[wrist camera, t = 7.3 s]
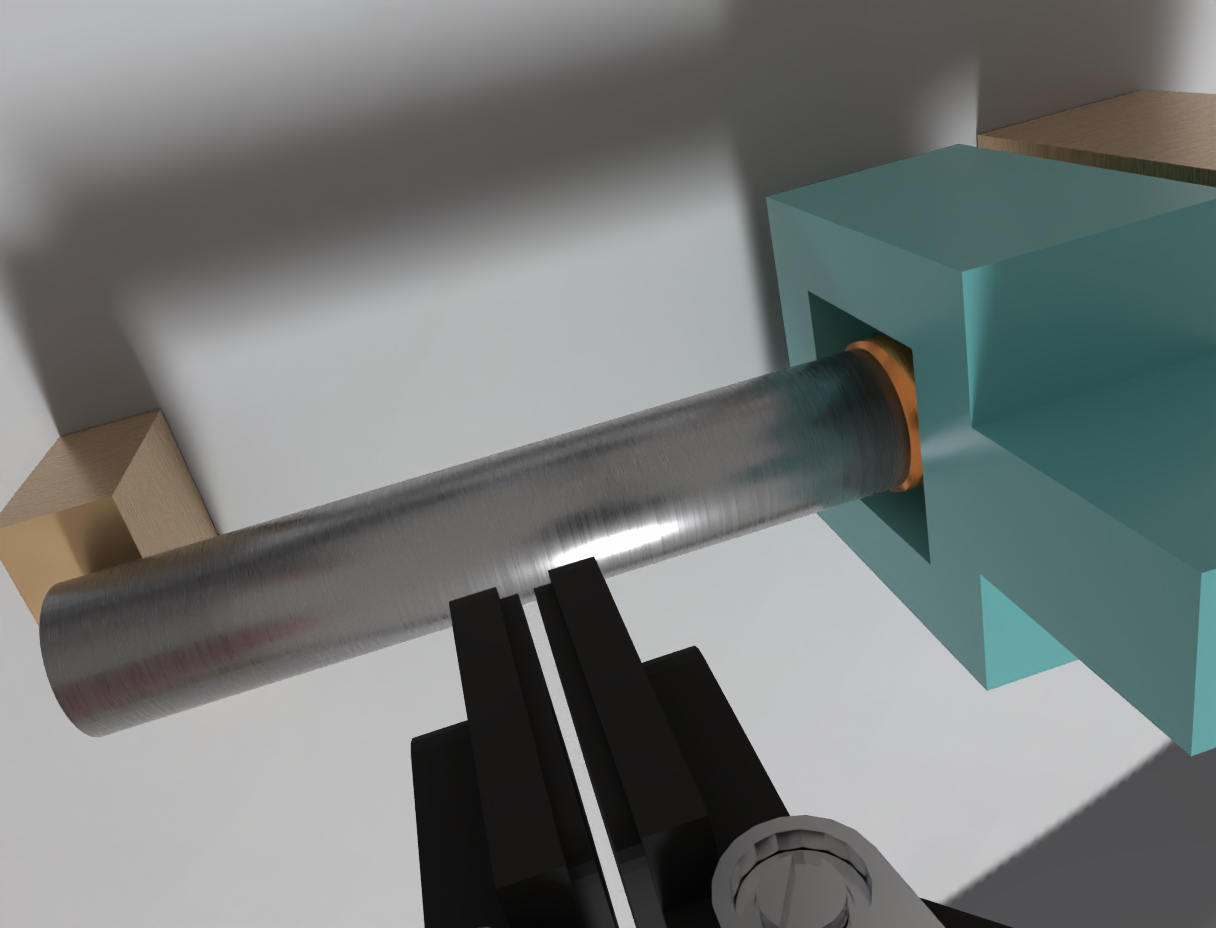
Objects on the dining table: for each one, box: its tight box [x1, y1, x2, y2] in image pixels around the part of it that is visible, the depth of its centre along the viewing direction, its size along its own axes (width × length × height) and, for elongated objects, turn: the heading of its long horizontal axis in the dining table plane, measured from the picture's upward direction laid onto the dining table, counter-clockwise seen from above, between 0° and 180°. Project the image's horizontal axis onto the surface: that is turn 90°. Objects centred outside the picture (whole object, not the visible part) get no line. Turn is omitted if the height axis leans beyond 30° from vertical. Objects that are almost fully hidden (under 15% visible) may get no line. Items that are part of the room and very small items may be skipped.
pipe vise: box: [0, 90, 1216, 737], centre depth 18 cm, size 24×6×9 cm, turn 103°
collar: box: [766, 144, 1216, 756], centre depth 15 cm, size 4×7×11 cm, turn 13°
